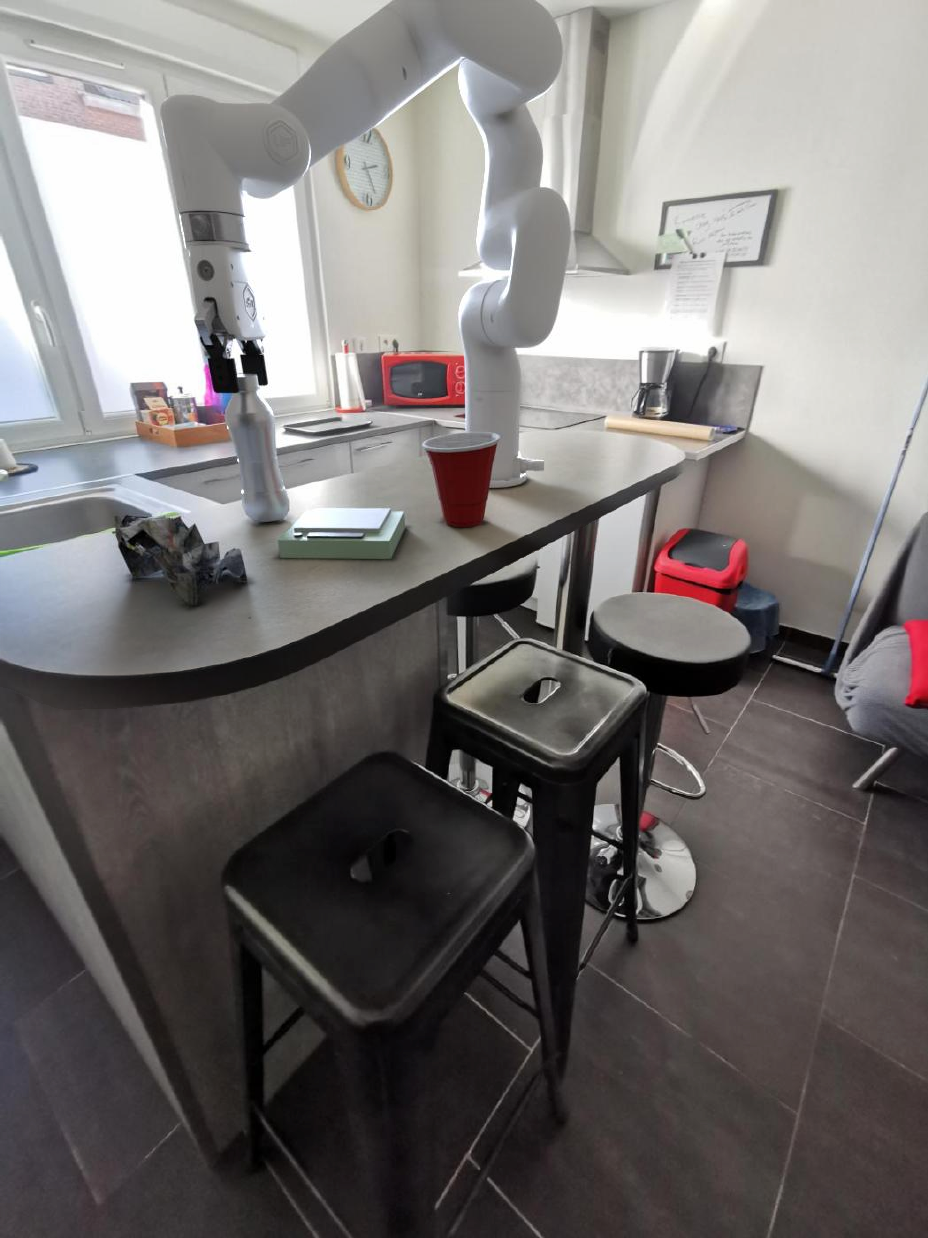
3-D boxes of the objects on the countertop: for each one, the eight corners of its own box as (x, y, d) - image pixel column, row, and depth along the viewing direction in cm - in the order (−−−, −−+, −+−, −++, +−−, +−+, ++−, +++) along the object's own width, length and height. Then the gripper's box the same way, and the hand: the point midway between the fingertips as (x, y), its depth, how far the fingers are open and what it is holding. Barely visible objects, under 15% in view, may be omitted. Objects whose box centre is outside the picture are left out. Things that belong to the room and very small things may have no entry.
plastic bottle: (279, 528, 81) (253, 377, 72) (236, 525, 82) (205, 377, 73) (299, 514, 87) (277, 372, 77) (259, 512, 88) (233, 372, 78)
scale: (405, 527, 81) (403, 507, 79) (390, 559, 70) (389, 536, 69) (309, 526, 81) (306, 506, 80) (280, 558, 71) (276, 535, 69)
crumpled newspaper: (121, 598, 53) (95, 483, 59) (150, 650, 62) (125, 546, 68) (248, 569, 58) (212, 464, 64) (258, 621, 67) (226, 526, 73)
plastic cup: (424, 511, 87) (420, 431, 82) (493, 508, 88) (494, 428, 82) (426, 535, 78) (422, 445, 72) (504, 531, 79) (506, 443, 73)
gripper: (215, 224, 60) (244, 396, 68) (273, 244, 75) (291, 383, 83) (146, 224, 60) (183, 396, 68) (218, 244, 76) (241, 382, 84)
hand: (242, 388), depth 76 cm, fingers open, 9 cm apart
